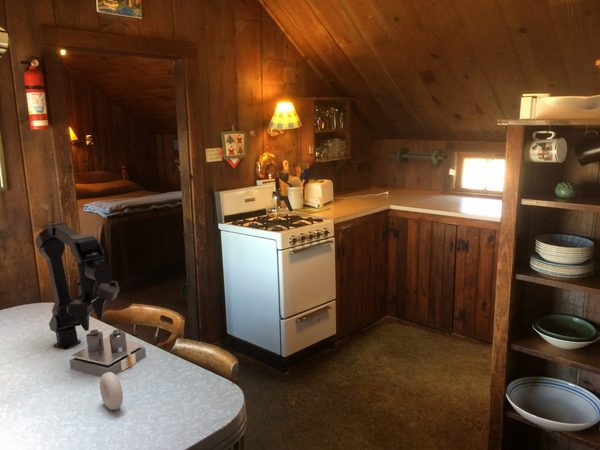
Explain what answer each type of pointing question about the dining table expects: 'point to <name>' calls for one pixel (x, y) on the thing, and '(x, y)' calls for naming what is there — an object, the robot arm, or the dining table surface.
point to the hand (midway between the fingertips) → (93, 324)
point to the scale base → (100, 370)
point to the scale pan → (107, 353)
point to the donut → (111, 390)
